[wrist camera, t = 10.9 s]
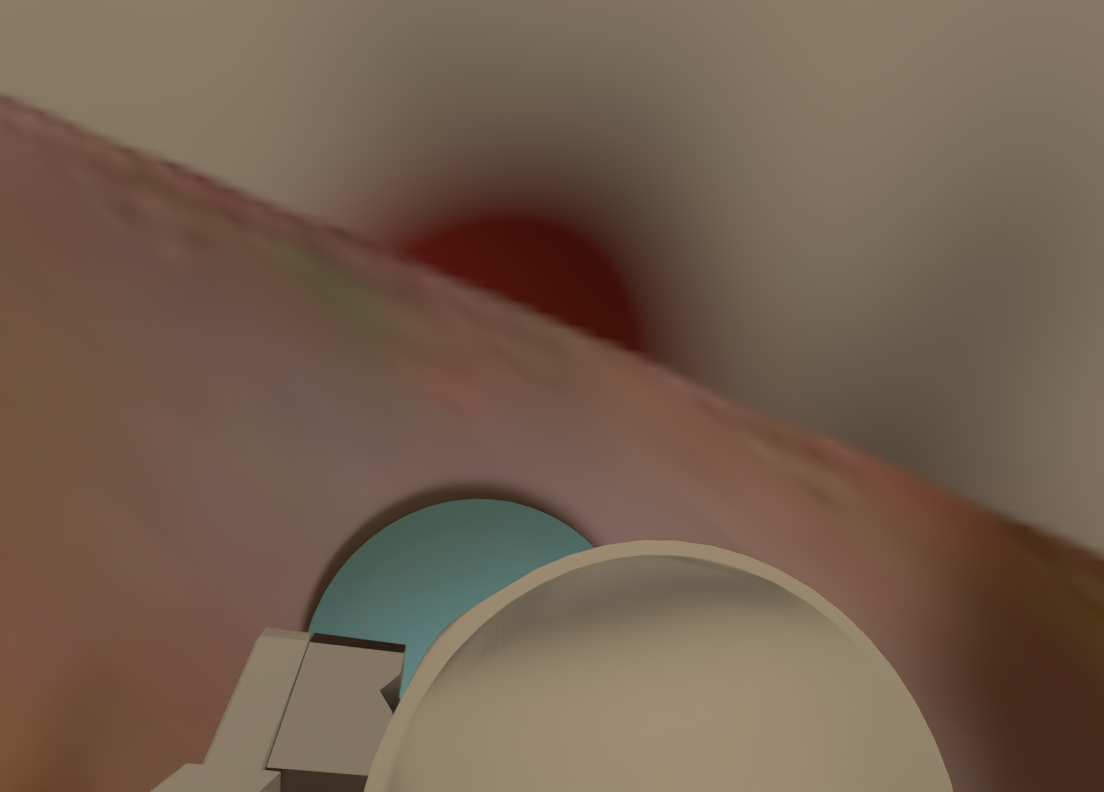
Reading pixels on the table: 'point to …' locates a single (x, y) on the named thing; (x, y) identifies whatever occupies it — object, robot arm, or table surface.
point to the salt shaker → (656, 687)
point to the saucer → (438, 571)
